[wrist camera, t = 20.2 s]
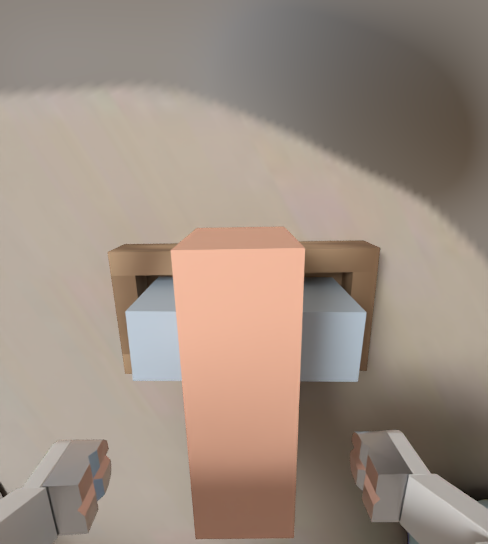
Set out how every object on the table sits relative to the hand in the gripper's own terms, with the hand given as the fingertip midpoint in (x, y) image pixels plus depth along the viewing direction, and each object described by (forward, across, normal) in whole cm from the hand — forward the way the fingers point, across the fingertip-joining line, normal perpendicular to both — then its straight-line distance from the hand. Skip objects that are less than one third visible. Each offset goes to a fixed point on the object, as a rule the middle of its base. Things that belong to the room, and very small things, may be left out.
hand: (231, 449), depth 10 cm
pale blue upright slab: (+12, -1, 0) cm, 12 cm away
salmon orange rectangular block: (+6, 0, -1) cm, 6 cm away
